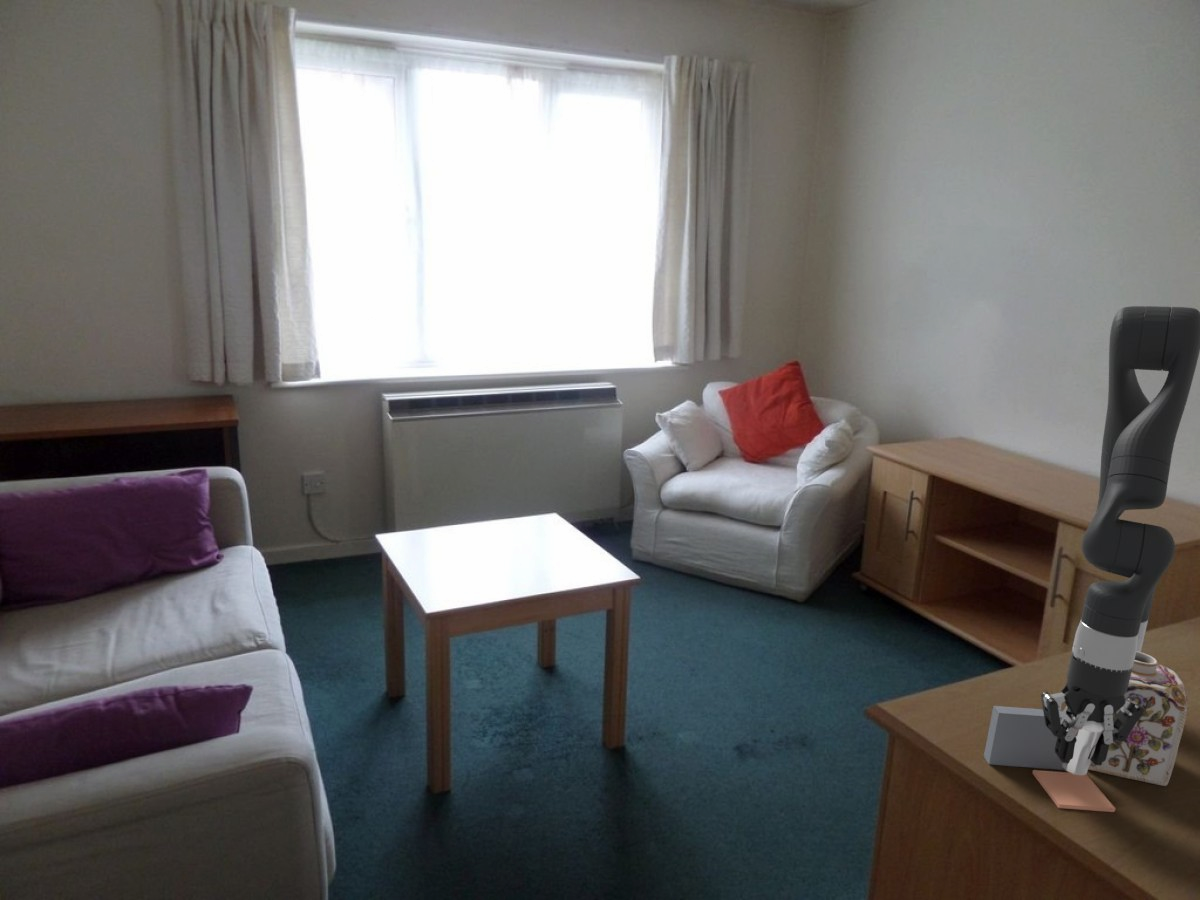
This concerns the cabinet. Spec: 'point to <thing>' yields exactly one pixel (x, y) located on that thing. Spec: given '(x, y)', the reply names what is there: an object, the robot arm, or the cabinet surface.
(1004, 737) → the screen
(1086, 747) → the milkshake
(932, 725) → the cabinet surface
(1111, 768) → the decorative jar
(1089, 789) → the mat
